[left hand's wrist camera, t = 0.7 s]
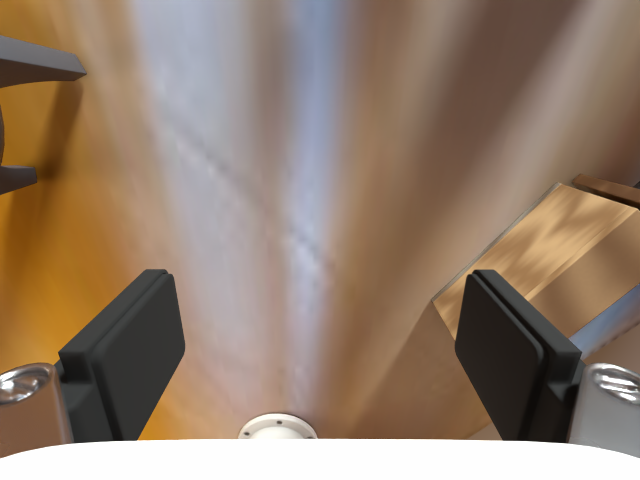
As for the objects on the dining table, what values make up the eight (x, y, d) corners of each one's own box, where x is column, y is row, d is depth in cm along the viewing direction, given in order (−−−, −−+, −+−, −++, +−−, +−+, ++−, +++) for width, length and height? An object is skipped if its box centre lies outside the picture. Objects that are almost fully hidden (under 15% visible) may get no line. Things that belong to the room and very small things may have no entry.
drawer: (625, 132, 37) (716, 140, 28) (652, 164, 38) (748, 181, 30) (454, 289, 44) (486, 333, 35) (482, 312, 45) (520, 360, 36)
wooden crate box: (556, 182, 40) (637, 208, 29) (590, 217, 41) (679, 253, 31) (430, 299, 45) (462, 355, 35) (464, 326, 47) (505, 387, 36)
